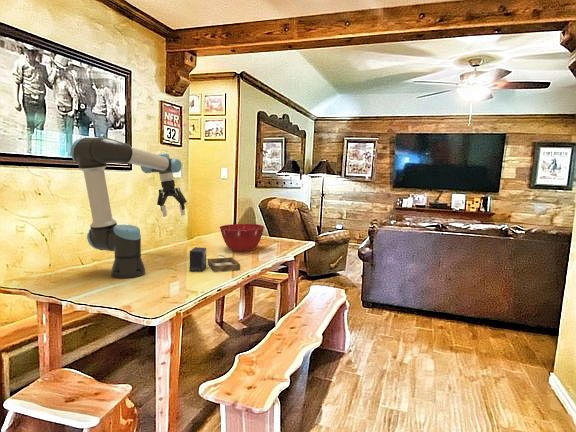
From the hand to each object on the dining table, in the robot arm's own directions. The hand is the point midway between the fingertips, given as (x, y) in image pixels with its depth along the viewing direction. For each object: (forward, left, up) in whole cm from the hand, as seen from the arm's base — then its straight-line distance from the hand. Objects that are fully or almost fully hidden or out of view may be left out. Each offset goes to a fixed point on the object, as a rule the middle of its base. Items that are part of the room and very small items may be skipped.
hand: (174, 215), depth 226 cm
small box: (+8, -39, -24) cm, 47 cm away
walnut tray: (+21, -39, -23) cm, 50 cm away
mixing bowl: (+42, +2, -24) cm, 48 cm away
